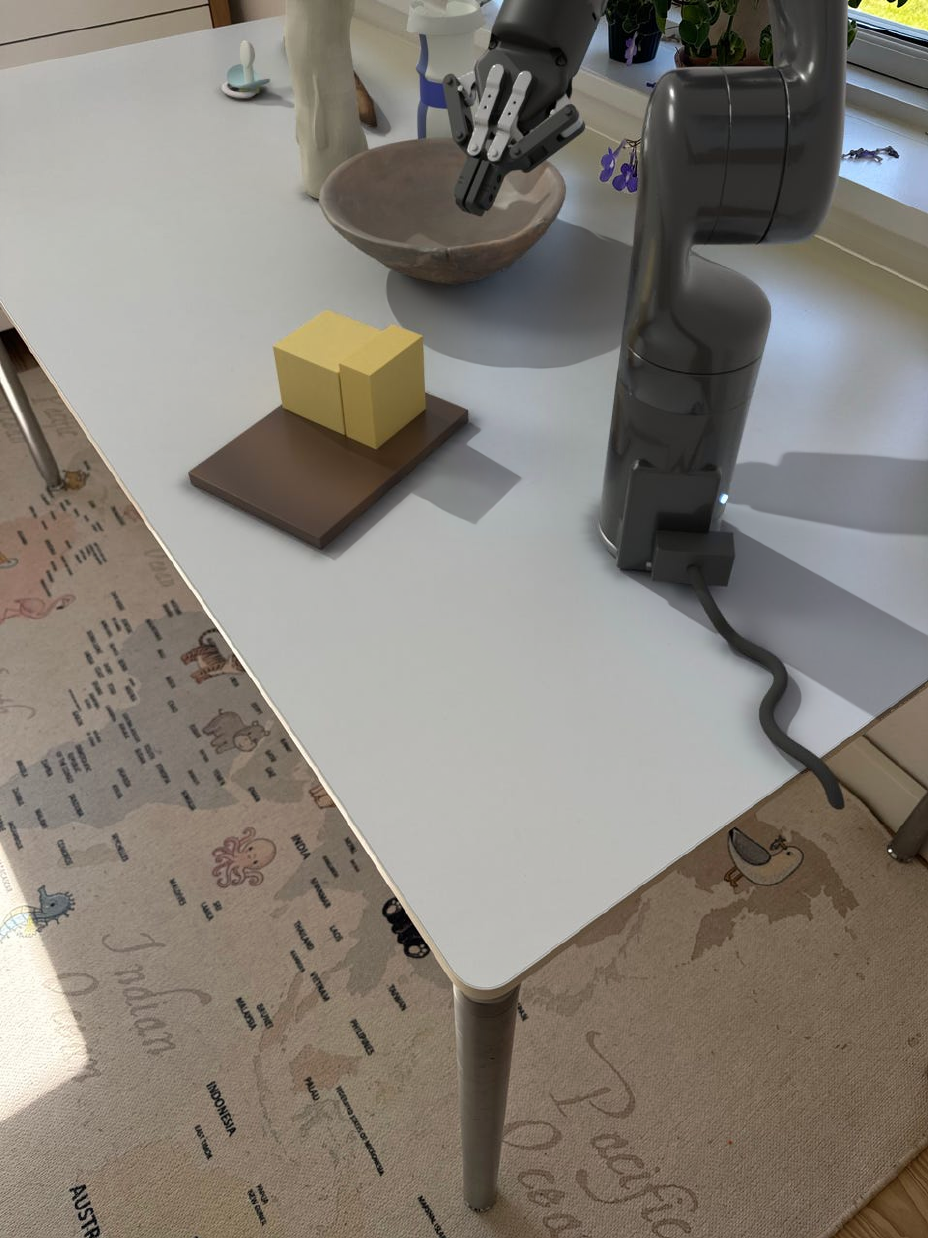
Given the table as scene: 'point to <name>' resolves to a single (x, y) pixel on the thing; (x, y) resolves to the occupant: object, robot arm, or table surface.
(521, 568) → the table surface
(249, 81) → the pacifier
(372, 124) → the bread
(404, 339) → the butter slice
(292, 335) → the butter block
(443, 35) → the water bottle
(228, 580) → the table surface
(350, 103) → the vase
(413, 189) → the bowl
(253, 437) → the butter board
